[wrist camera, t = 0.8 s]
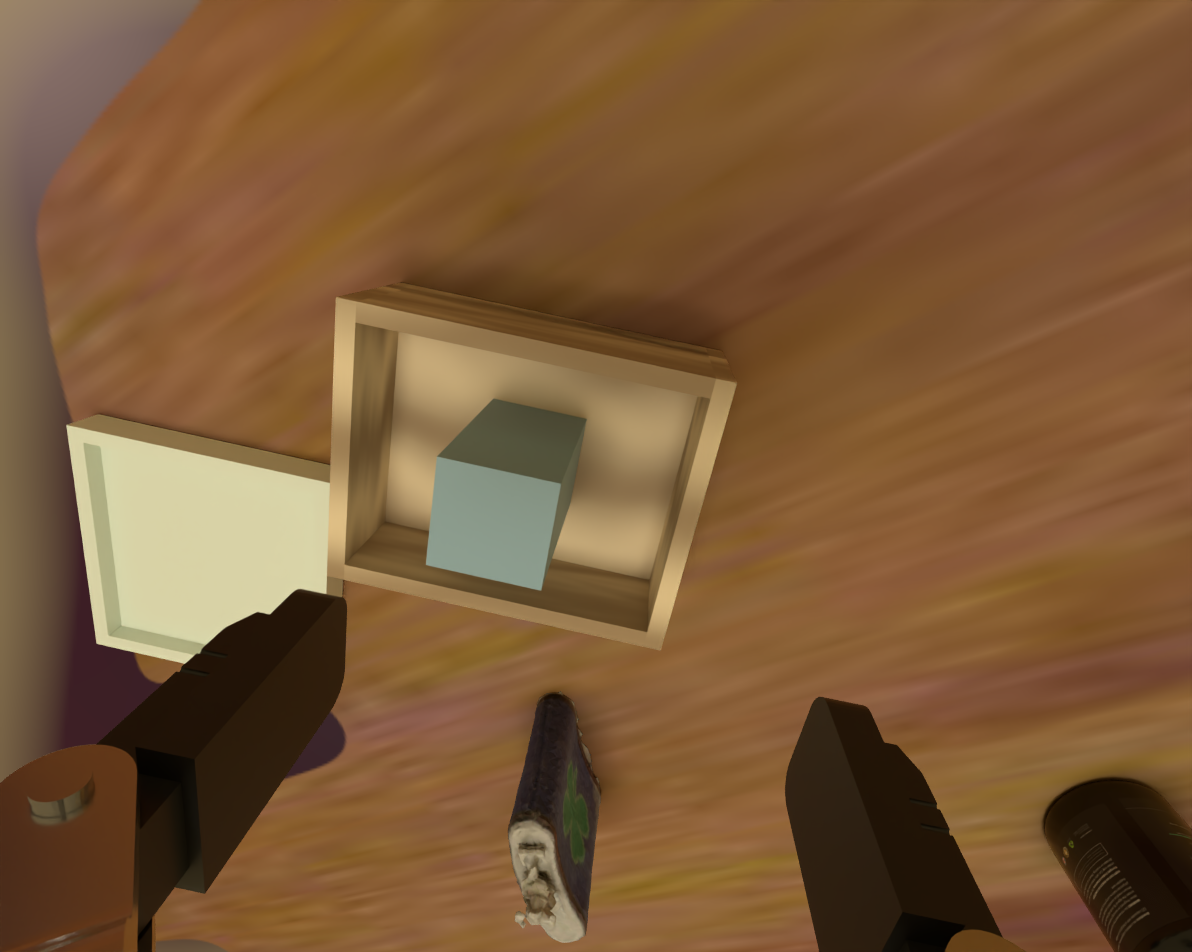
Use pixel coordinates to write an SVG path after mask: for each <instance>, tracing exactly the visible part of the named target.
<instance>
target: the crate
mask: <svg viewBox="0 0 1192 952" xmlns="http://www.w3.org/2000/svg"><path fill="white" fill-rule="evenodd" d="M736 385H737V382H736V380H735V378H734V375H733V373H732V371H731V369H730V367H729V364H728V362H727V360H726V358H725V356H724V353H723V351H720V350H715V349H711V348H706V347H701V346H697V345H692V344H687V343H683V342H678V341H673V340H669V339H664V338H659V337H655V336H650V335H645V334H640V333H636V332H631V331H626V330H622V329H617V328H612V327H608V326H603V325H598V324H594V323H589V322H584V321H580V320H575V319H570V318H566V317H561V316H556V315H551V314H547V313H542V312H537V311H533V310H528V309H523V308H519V307H514V306H509V305H505V304H500V303H495V302H491V301H486V300H481V299H477V298H472V297H467V296H462V295H458V294H453V293H448V292H444V291H439V290H434V289H430V288H425V287H420V286H416V285H411V284H406V283H402V282H401V283H397V284H392V285H388V286H383V287H379V288H375V289H370V290H366V291H361V292H357V293H352V294H348V295H343V296H339V297H336V311H335V342H334V373H333V404H332V435H331V466H330V497H329V527H328V558H327V576H329V577H334V578H338V579H343V580H347V581H352V582H356V583H361V584H365V585H370V586H374V587H379V588H383V589H388V590H392V591H397V592H401V593H405V594H410V595H414V596H419V597H423V598H428V599H432V600H437V601H441V602H446V603H450V604H455V605H459V606H464V607H468V608H473V609H477V610H481V611H486V612H490V613H495V614H499V615H504V616H508V617H513V618H517V619H522V620H526V621H531V622H535V623H540V624H544V625H549V626H553V627H557V628H562V629H566V630H571V631H575V632H580V633H584V634H589V635H593V636H598V637H602V638H607V639H611V640H616V641H620V642H625V643H629V644H634V645H638V646H642V647H647V648H651V649H656V650H660V651H661V647H662V644H663V640H664V637H665V633H666V630H667V626H668V623H669V619H670V616H671V612H672V609H673V605H674V602H675V598H676V595H677V591H678V588H679V584H680V581H681V577H682V574H683V570H684V567H685V563H686V560H687V556H688V553H689V549H690V546H691V542H692V539H693V535H694V532H695V528H696V525H697V521H698V518H699V515H700V511H701V508H702V504H703V501H704V497H705V494H706V490H707V487H708V483H709V480H710V476H711V473H712V469H713V466H714V462H715V459H716V455H717V452H718V448H719V445H720V441H721V438H722V434H723V431H724V427H725V424H726V420H727V417H728V413H729V410H730V406H731V403H732V399H733V396H734V392H735V389H736ZM493 399H498V400H502V401H507V402H511V403H516V404H521V405H525V406H530V407H534V408H539V409H544V410H548V411H553V412H558V413H562V414H567V415H571V416H576V417H581V418H585V419H587V421H586V426H585V431H584V436H583V441H582V446H581V451H580V457H579V462H578V467H577V472H576V477H575V482H574V487H573V492H572V497H571V502H570V506H569V509H568V512H567V515H566V518H565V521H564V524H563V527H562V530H561V533H560V536H559V539H558V542H557V545H556V548H555V551H554V554H553V557H552V560H551V563H550V566H549V569H548V572H547V575H546V578H545V581H544V584H543V587H542V590H541V591H540V590H536V589H531V588H527V587H522V586H518V585H513V584H509V583H504V582H500V581H495V580H491V579H486V578H482V577H477V576H473V575H468V574H464V573H459V572H455V571H450V570H446V569H442V568H437V567H433V566H428V565H426V558H427V548H428V538H429V529H430V519H431V509H432V499H433V490H434V480H435V470H436V460H437V456H438V455H439V454H440V453H441V452H442V451H443V450H444V449H445V448H446V447H447V446H448V445H449V444H450V443H451V442H452V441H453V440H454V438H455V437H456V436H457V435H458V434H459V433H460V432H461V431H462V430H463V429H464V428H465V427H466V426H467V425H468V424H469V423H470V422H471V421H472V420H473V419H474V418H475V417H476V416H477V415H478V414H479V413H480V412H481V411H482V410H483V409H484V408H485V407H486V406H487V405H488V404H489V403H490V402H491V401H492V400H493Z"/></svg>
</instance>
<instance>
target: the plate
mask: <svg viewBox="0 0 1192 952" xmlns="http://www.w3.org/2000/svg"><path fill="white" fill-rule="evenodd" d="M67 432H68V438H69V439H68V440H69V446H70V454H71V461H72V468H73V476H74V483H75V490H76V497H77V504H78V512H79V519H80V526H81V533H82V540H83V548H84V555H85V562H86V568H87V576H88V584H89V591H90V598H91V604H92V613H93V619H94V627H95V634H96V641H97V644H101V645H106V646H110V647H114V648H118V649H123V650H127V651H132V652H136V653H140V654H145V655H149V656H154V657H158V658H162V659H167V660H171V661H176V662H180V663H184V664H185V663H186V662H188V661H189V660H190V659H191V658H192V657H193V656H194V655H195V654H196V653H198V654H200V652H201V649H202V648H203V647H204V646H205V645H206V644H207V643H208V642H210V641H211V640H212V639H213V638H214V637H215V636H216V635H217V634H218V633H220V632H221V631H222V630H223V629H224V628H225V627H227V626H229V625H231V624H233V623H235V622H237V621H239V620H242V619H244V618H246V617H248V616H250V615H252V614H254V613H256V612H260V613H265V614H271V613H272V612H273V611H274V610H275V609H276V608H277V607H278V606H279V605H280V604H281V603H282V602H283V601H284V600H285V599H286V598H287V597H288V596H289V595H290V594H291V593H292V592H294V591H295V590H297V589H304V590H309V591H314V592H319V593H323V594H328V595H333V596H338V597H342V593H343V579H338V578H334V577H329V576H327V558H328V527H329V497H330V466H331V465H327V464H323V463H318V462H314V461H309V460H305V459H300V458H296V457H291V456H286V455H282V454H277V453H273V452H268V451H264V450H259V449H255V448H250V447H246V446H241V445H236V444H232V443H227V442H223V441H218V440H214V439H209V438H205V437H200V436H195V435H191V434H186V433H182V432H177V431H173V430H168V429H164V428H159V427H155V426H150V425H145V424H141V423H136V422H132V421H127V420H123V419H118V418H114V417H109V416H105V415H100V414H98V415H95V416H92V417H89V418H86V419H83V420H80V421H77V422H74V423H71V424H68V425H67Z"/></svg>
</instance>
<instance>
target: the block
mask: <svg viewBox="0 0 1192 952" xmlns="http://www.w3.org/2000/svg"><path fill="white" fill-rule="evenodd" d="M586 421H587V419H585V418H581V417H576V416H571V415H567V414H562V413H558V412H553V411H548V410H544V409H539V408H534V407H530V406H525V405H521V404H516V403H511V402H507V401H502V400H498V399H493V400H492V401H491V402H490V403H489V404H488V405H487V406H486V407H485V408H484V409H483V410H482V411H481V412H480V413H479V414H478V415H477V416H476V417H475V418H474V419H473V420H472V421H471V422H470V423H469V424H468V425H467V426H466V427H465V428H464V429H463V430H462V431H461V432H460V433H459V434H458V435H457V436H456V437H455V438H454V440H453V441H452V442H451V443H450V444H449V445H448V446H447V447H446V448H445V449H444V450H443V451H442V452H441V453H440V454H439V455H438V456H437V460H436V470H435V480H434V490H433V499H432V509H431V519H430V529H429V538H428V548H427V558H426V565H428V566H433V567H437V568H442V569H446V570H450V571H455V572H459V573H464V574H468V575H473V576H477V577H482V578H486V579H491V580H495V581H500V582H504V583H509V584H513V585H518V586H522V587H527V588H531V589H536V590H540V591H541V590H542V587H543V584H544V581H545V578H546V575H547V572H548V569H549V566H550V563H551V560H552V557H553V554H554V551H555V548H556V545H557V542H558V539H559V536H560V533H561V530H562V527H563V524H564V521H565V518H566V515H567V512H568V509H569V506H570V502H571V497H572V492H573V487H574V482H575V477H576V472H577V467H578V462H579V457H580V451H581V446H582V441H583V436H584V431H585V426H586Z"/></svg>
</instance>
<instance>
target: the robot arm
mask: <svg viewBox="0 0 1192 952" xmlns="http://www.w3.org/2000/svg"><path fill="white" fill-rule="evenodd" d="M346 622H347V604H346V601H345V599H344V598H343V597H338V596H333V595H328V594H323V593H319V592H314V591H309V590H304V589H297V590H295V591H294V592H292V593H291V594H290V595H289V596H288V597H287V598H286V599H285V600H284V601H283V602H282V603H281V604H280V605H279V606H278V607H277V608H276V609H275V610H274V611H273V612H272V613H271V614H265V613H260V612H256V613H254V614H252V615H250V616H248V617H246V618H244V619H242V620H239V621H237V622H235V623H233V624H231V625H229V626H227V627H225V628H224V629H223V630H222V631H221V632H220V633H218V634H217V635H216V636H215V637H214V638H213V639H212V640H211V641H210V642H208V643H207V644H206V645H205V646H204V647H203V648H202V649H201V652H200V654H198V653H196V654H195V655H194V656H193V657H192V658H191V659H190V660H189V661H188V662H186V663H185V664H184V665H183V666H182V667H181V671H180V672H175V673H174V674H173V675H172V676H171V677H170V678H169V679H168V680H167V681H166V682H164V683H163V684H162V685H161V686H160V687H159V688H158V689H157V690H156V691H155V692H153V693H152V694H151V695H150V696H149V697H148V698H147V699H146V700H145V701H144V702H142V704H140V705H139V706H138V707H137V708H136V709H135V710H134V711H133V712H131V713H130V714H129V715H128V716H127V717H126V718H125V719H124V720H123V721H121V722H120V723H119V724H118V725H117V726H116V727H115V728H114V729H113V730H112V731H110V732H109V733H108V734H107V735H106V736H105V737H104V738H103V739H102V740H100V741H99V742H98V743H97V744H96V745H81V746H76V747H70V748H66V749H62V750H59V751H55V752H53V753H50V754H47V755H44V756H42V757H40V758H38V759H36V760H33V761H31V762H29V763H28V764H26V765H24V766H22V767H21V768H19V769H17V770H16V771H15V772H13V773H12V774H10V775H9V776H8V777H6V778H5V779H4V780H3V781H2V782H1V783H0V952H155V942H156V923H155V915H154V914H155V913H156V912H157V910H158V909H159V908H160V906H161V905H162V904H163V902H164V901H165V900H166V898H167V897H168V896H169V894H170V893H171V891H172V890H173V889H174V887H176V888H181V889H186V890H190V891H195V892H200V893H204V894H205V893H206V891H207V890H208V888H209V887H210V886H211V884H212V883H213V881H214V880H215V878H216V877H217V875H218V874H219V872H220V871H221V870H222V868H223V867H224V865H225V864H226V862H227V861H228V859H229V858H230V856H231V855H232V854H233V852H234V851H235V849H236V848H237V846H238V845H239V843H240V842H241V840H242V839H243V838H244V836H245V835H246V833H247V832H248V830H249V829H250V827H251V826H252V824H253V823H254V822H255V820H256V819H257V817H258V816H259V814H260V813H261V811H262V810H263V808H264V807H265V805H266V804H267V803H268V801H269V800H270V798H271V797H272V795H273V794H274V792H275V791H276V789H277V788H278V787H279V785H280V784H281V782H282V781H283V779H284V778H285V776H286V775H287V773H288V772H289V770H290V769H291V768H292V766H293V764H294V763H295V762H296V760H297V759H298V757H299V755H301V753H302V752H303V750H304V749H305V747H306V746H307V744H308V743H309V741H310V740H311V739H312V737H313V736H314V734H315V733H316V731H317V730H318V728H319V727H320V725H321V724H322V723H323V721H324V720H325V718H326V717H327V715H328V714H329V712H330V711H331V709H332V708H333V706H334V704H335V702H336V700H337V698H338V695H339V693H340V690H341V687H342V683H343V679H344V672H345V649H346ZM785 797H786V806H787V810H788V815H789V819H790V824H791V828H792V833H793V837H794V841H795V846H796V850H797V855H798V859H799V864H800V868H801V873H802V877H803V881H804V886H805V890H806V895H807V899H808V904H809V908H810V912H811V917H812V921H813V926H814V930H815V935H816V939H817V943H818V948H819V952H1026V951H1024V950H1023V949H1021V948H1020V947H1018V946H1017V945H1015V944H1014V943H1012V942H1010V941H1008V940H1006V939H1004V938H1003V937H1002V935H1001V933H1000V931H999V929H998V927H997V925H996V922H995V920H994V918H993V916H992V914H991V912H990V910H989V908H988V906H987V904H986V902H985V900H984V898H983V896H982V894H981V892H980V890H979V888H978V886H977V884H976V882H975V880H974V878H973V876H972V874H971V872H970V870H969V868H968V866H967V864H966V861H965V859H964V857H963V855H962V853H961V851H960V849H959V847H958V845H957V843H956V841H955V839H954V837H953V836H951V835H950V834H949V830H950V829H949V827H948V825H947V823H946V821H945V819H944V817H943V815H942V813H941V811H940V810H939V809H937V802H936V800H935V798H934V796H933V794H932V792H931V790H930V788H929V786H928V784H927V782H926V780H925V778H924V776H923V774H922V773H921V772H920V770H919V769H918V768H917V767H916V766H915V765H914V764H913V763H912V762H911V760H910V759H909V758H908V757H907V756H906V755H905V754H904V753H903V752H902V750H901V749H900V748H899V747H898V746H897V745H894V744H889V743H884V741H883V739H882V737H881V734H880V732H879V730H878V728H877V725H876V723H875V721H874V719H873V717H872V714H871V712H870V710H869V709H868V708H867V707H866V706H863V705H858V704H853V703H849V702H844V701H839V700H834V699H829V698H824V697H818V698H816V699H815V700H814V702H813V704H812V706H811V708H810V711H809V713H808V716H807V719H806V721H805V724H804V726H803V729H802V732H801V734H800V737H799V739H798V742H797V745H796V747H795V750H794V753H793V755H792V758H791V760H790V763H789V766H788V770H787V775H786V785H785Z"/></svg>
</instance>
